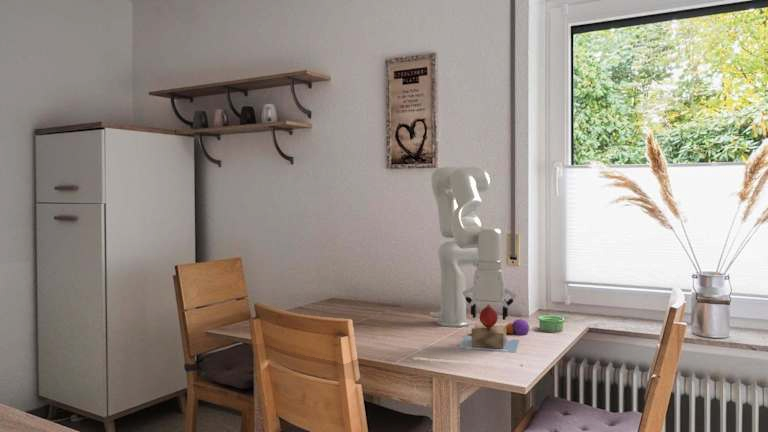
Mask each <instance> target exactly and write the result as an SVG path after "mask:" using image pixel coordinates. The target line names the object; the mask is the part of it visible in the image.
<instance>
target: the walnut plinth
mask: <svg viewBox="0 0 768 432" xmlns="http://www.w3.org/2000/svg"><path fill="white" fill-rule="evenodd" d="M473 328H474V329H473V330H472V329H471V337H472V347H480V348H494V349H504V346H505V343H506V339H507V333H506V325H504V326H502V325H494V326H492V327H491V328H490V329H487V328H486V327H485V326H484V325H483V324H475V326H474V327H473Z"/></svg>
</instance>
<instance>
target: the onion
mask: <svg viewBox="0 0 768 432" xmlns="http://www.w3.org/2000/svg"><path fill="white" fill-rule="evenodd" d="M498 319H499V318H498V314H497V311H496V310H495V309H494V308H493V307H492V306H491V305H490V304H487V305H486V306H485V307H483V309H482V310H481V312H480V313H479V321H480V324H481V325H484V326H485V327H486V328H487V329H490V328H491V327H492V326H496V325H495V324H496V323H497V322H498Z"/></svg>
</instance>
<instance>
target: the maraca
mask: <svg viewBox="0 0 768 432" xmlns="http://www.w3.org/2000/svg"><path fill="white" fill-rule="evenodd" d="M505 326H506V334H507V335H513V334H514V335H520V336H526V335H527V334H528V333H529V332H530V325H529V323H528V322H527V321H526V320H525V319H522V318H518V319H515V320H513V322H509V323H507V324H506V325H505ZM473 329H474V327H472V328H471V331H472V330H473Z"/></svg>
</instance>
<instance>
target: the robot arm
mask: <svg viewBox="0 0 768 432" xmlns="http://www.w3.org/2000/svg"><path fill="white" fill-rule="evenodd" d="M490 184H491V179H490V175H489V173H488V172H487V171H486V170H485V169H484V168H480V167H479V168H478V167H471V166H470V167H468V166H465V167H463V166H456V167H455V166H447V167H446V166H445V167H443V166H442V167H439V168H436V169H435V170H434V171H433V172H432V174H431V189H432V193H433V195H434V198H435V200H436V206H437V215H438V223H439V231H440V234H441V236H442V237H443V238H445V239H454V241H453V240H452V241H446V242H443V243H441V244H440V245H439V246H438V253H437V255H438V261H439V269H440V311H437V312H436V311H430V312H429V317H431V318H433V319H434V318H435V319H436V318H437V320H436V324H438V326H441V327H447V328H460V327H462V328H463V327H467V326H469V325H471V320H470V319H467V303H468V304H469V306H470V315H471V316H472V319H475V318H476V317H477V304H476V303H477V302H493V303H501V304H502V320H504V321H505V320H506V318H508V316H509V315H508V313H509V311H508V308H509V306H510V305H512V304H513V302H514V301H515V299H516V298H517V292H514V291H512V290H510V289H509V288H507V287H506V283H505V282H506V281H505V280H506V279H505V274H504V270H503V269H502V232H501V230H500V229H499V228H498V227H493V226H491V225H482V222H481V220H480V218H479V216H478V215H477V214H476V213H475V212H476V211H478V209H479V208H480V207H481V205H482V199H481V197H480V194H479V193H480V192H481V193H483V192H486V191H488V190H489V188H490V186H491V185H490ZM469 266H470V267H476V269H475V270H474V272H473V273H474V274H473V283H472V284H473V285H472V287H470V288H467V279H466V275H465V274H464V272H463V271H462V270H461V268H460V267H469ZM470 293H472V298H473V299H472V298H471V297H470V296H469V294H470ZM506 294H508V295H509V296H510V298H509V299H508V300H507V299H506Z"/></svg>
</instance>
